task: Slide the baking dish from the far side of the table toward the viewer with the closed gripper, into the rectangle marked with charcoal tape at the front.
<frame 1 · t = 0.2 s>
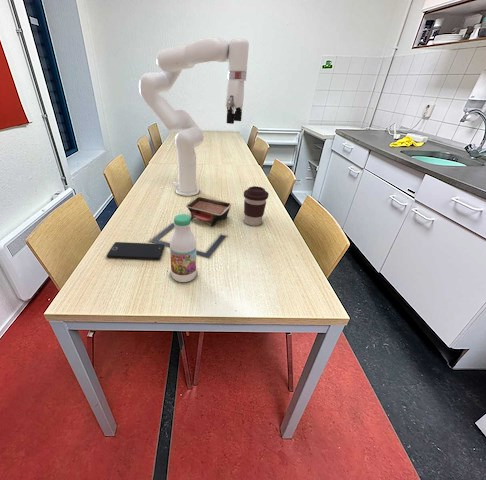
hand: (234, 122, 119), 37 cm above the table, tool pointing down, fingers open, 9 cm apart
baking dish: (208, 219, 118), on the table
tape outline: (189, 237, 104), on the table
milk bottle: (183, 275, 84), on the table
coffee cup: (252, 222, 117), on the table
cell phone: (136, 252, 95), on the table
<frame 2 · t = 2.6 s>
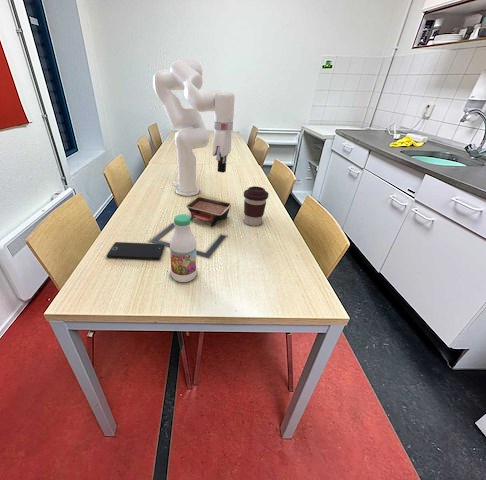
hand: (221, 171, 118), 18 cm above the table, tool pointing down, fingers closed
nothing on the table moved.
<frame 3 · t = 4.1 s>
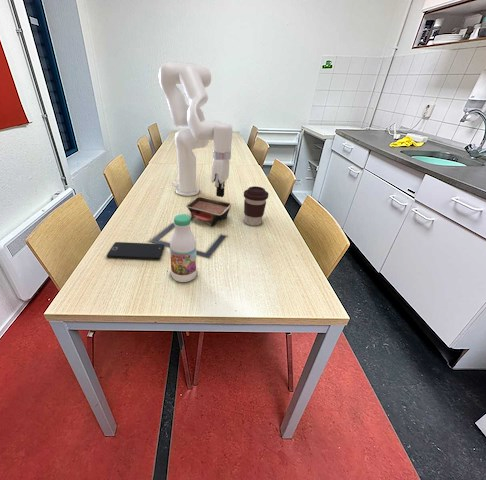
hand: (220, 196, 123), 7 cm above the table, tool pointing down, fingers closed
nothing on the table moved.
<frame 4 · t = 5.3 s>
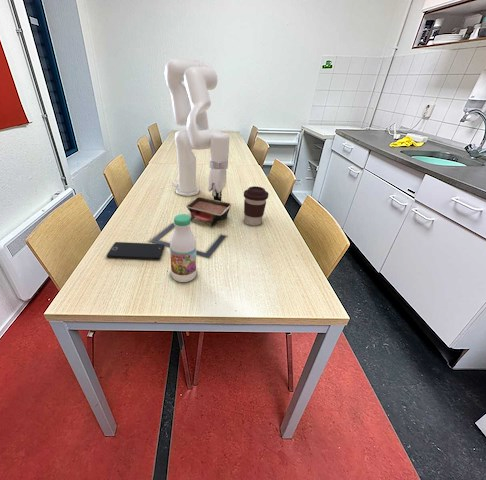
hand: (217, 204, 123), 4 cm above the table, tool pointing down, fingers closed
baking dish: (208, 219, 118), on the table, touching gripper
everything else where it was.
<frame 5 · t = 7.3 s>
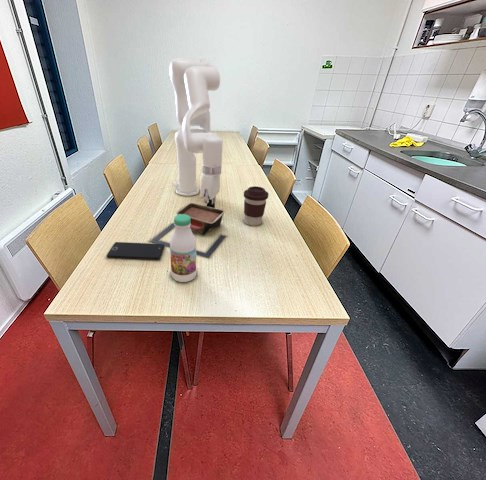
hand: (210, 211, 117), 3 cm above the table, tool pointing down, fingers closed
baking dish: (201, 227, 112), on the table, touching gripper
everything else where it was.
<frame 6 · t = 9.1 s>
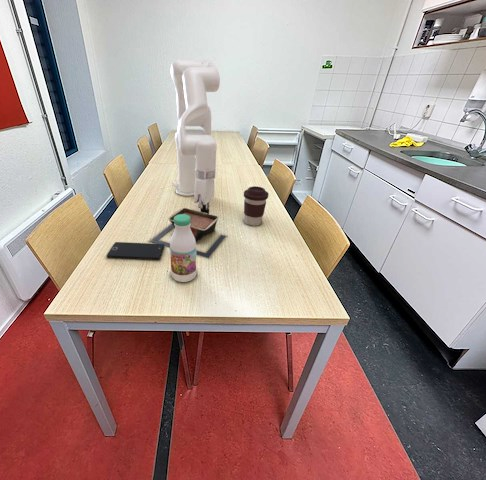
hand: (204, 217, 112), 3 cm above the table, tool pointing down, fingers closed
baking dish: (194, 233, 107), on the table, touching gripper
everything else where it was.
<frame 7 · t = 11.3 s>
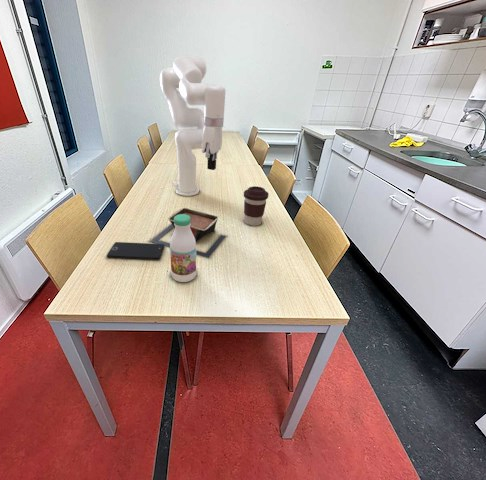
hand: (211, 168, 114), 20 cm above the table, tool pointing down, fingers closed
baking dish: (194, 233, 107), on the table
everything else where it was.
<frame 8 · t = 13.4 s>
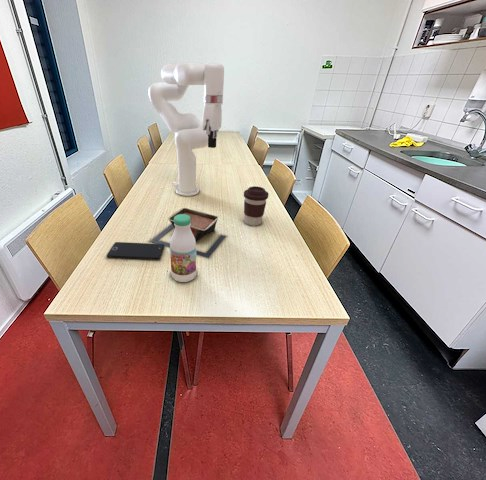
hand: (212, 147, 118), 27 cm above the table, tool pointing down, fingers closed
nothing on the table moved.
at the end: baking dish inside the target area (0.6 cm from its centre), on the table; baking dish moved 13.9 cm from its start; baking dish tilted 0° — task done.
